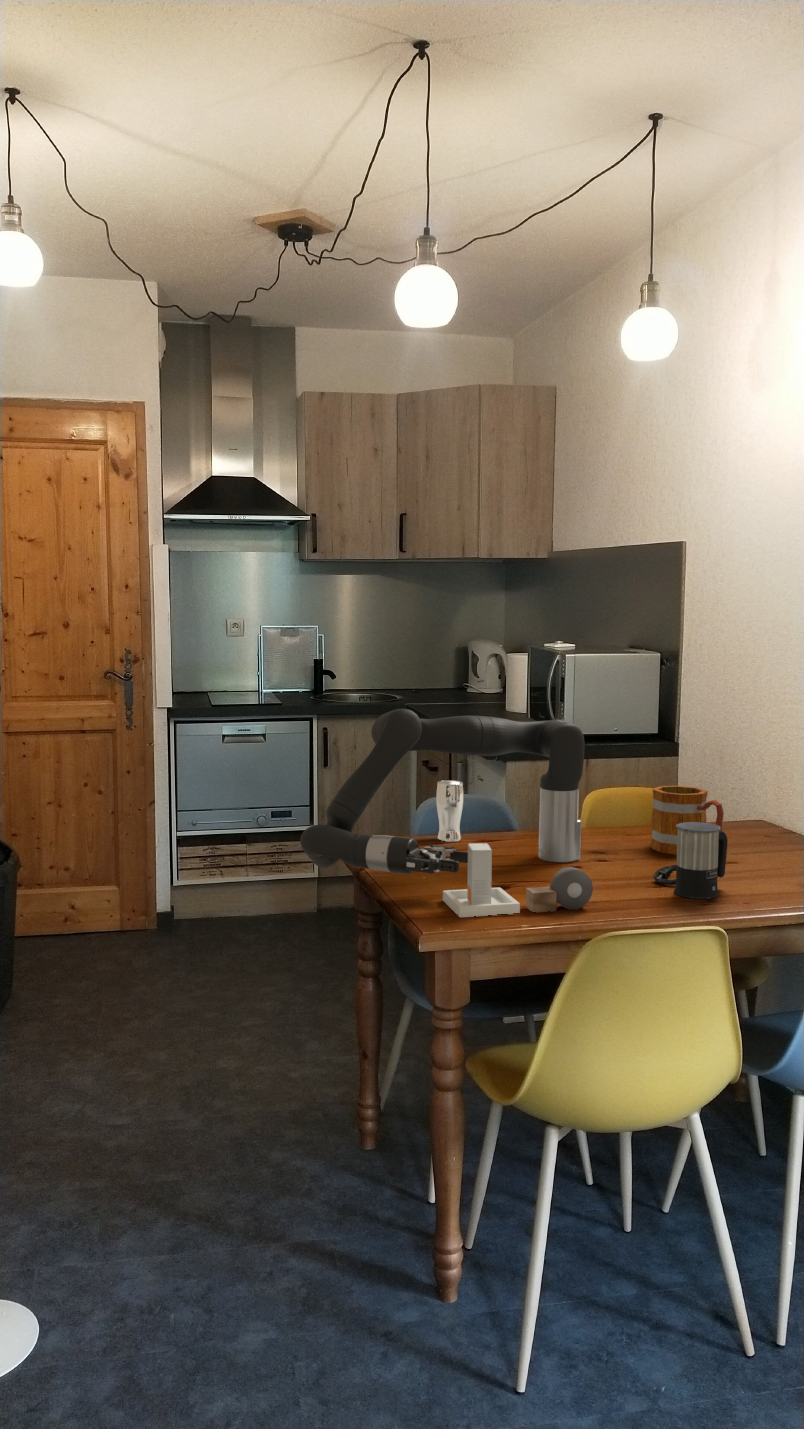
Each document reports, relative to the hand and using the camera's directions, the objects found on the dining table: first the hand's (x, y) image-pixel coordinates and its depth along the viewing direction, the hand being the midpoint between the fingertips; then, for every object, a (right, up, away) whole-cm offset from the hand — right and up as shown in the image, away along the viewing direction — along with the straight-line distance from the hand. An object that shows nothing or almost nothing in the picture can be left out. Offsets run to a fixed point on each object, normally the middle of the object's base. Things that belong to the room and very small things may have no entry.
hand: (465, 862), depth 223 cm
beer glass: (-1, -3, +62) cm, 62 cm away
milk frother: (+48, -8, +15) cm, 51 cm away
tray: (+3, -9, 0) cm, 9 cm away
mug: (+58, -4, +51) cm, 78 cm away
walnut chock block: (+15, -9, -1) cm, 18 cm away
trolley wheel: (+21, -9, 0) cm, 23 cm away
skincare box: (+3, -9, 0) cm, 9 cm away
